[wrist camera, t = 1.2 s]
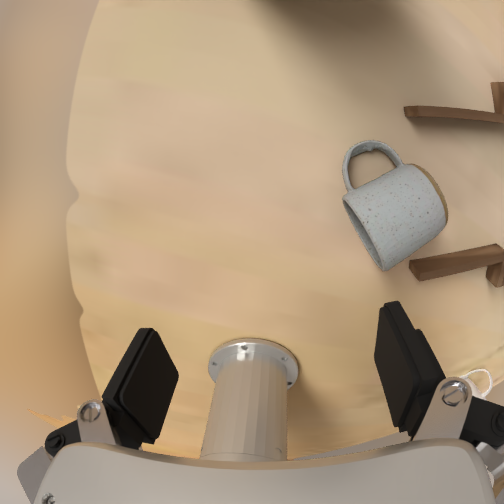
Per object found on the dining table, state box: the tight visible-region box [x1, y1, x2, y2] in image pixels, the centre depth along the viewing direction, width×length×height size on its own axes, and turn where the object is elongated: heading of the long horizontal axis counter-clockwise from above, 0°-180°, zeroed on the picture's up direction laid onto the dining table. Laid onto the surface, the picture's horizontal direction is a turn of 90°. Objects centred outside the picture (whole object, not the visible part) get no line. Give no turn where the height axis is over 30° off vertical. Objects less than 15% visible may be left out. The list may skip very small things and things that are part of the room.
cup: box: [459, 369, 493, 401], centre depth 34 cm, size 7×10×8 cm
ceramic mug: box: [342, 140, 448, 271], centre depth 22 cm, size 11×8×8 cm
